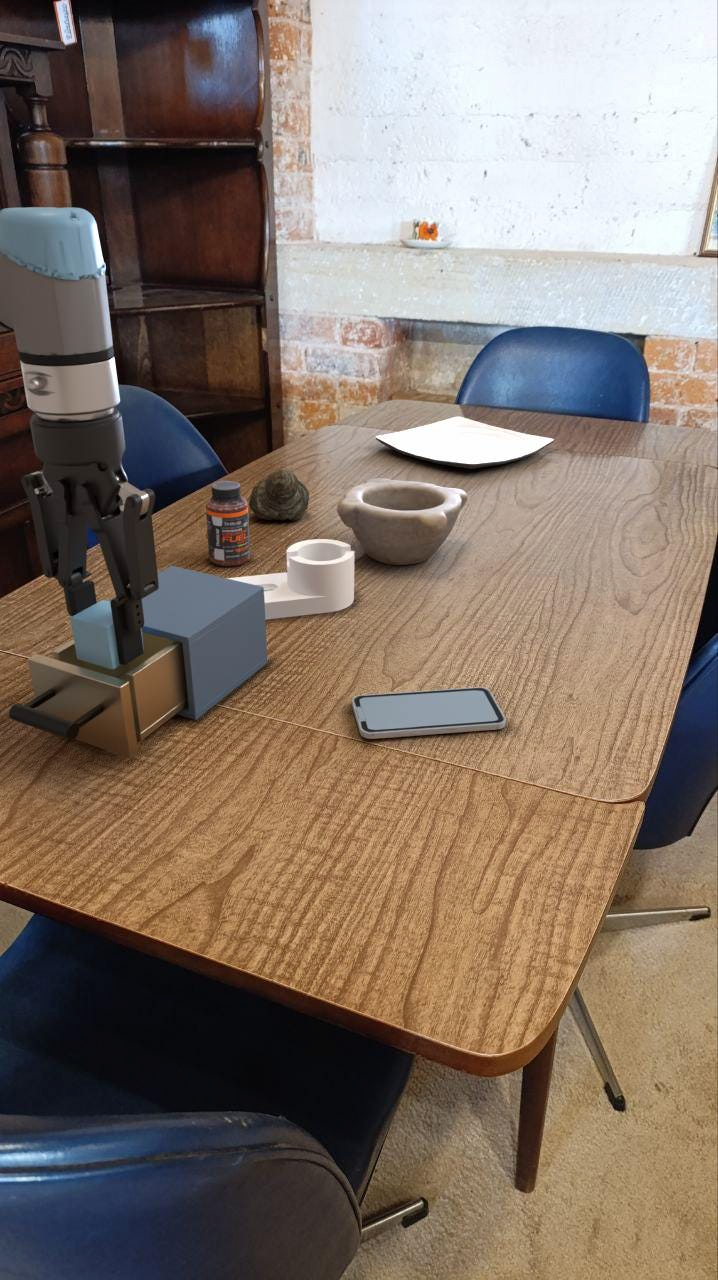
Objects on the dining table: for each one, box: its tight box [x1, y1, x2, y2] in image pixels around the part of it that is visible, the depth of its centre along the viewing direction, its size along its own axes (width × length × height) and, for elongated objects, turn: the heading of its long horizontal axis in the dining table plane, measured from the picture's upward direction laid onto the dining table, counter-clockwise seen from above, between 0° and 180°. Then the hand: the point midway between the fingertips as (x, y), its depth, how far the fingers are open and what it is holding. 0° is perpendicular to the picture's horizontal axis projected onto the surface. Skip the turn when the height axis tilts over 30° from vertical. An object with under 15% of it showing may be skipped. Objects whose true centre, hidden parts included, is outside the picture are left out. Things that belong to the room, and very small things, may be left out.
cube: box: [70, 599, 144, 670], centre depth 84 cm, size 4×4×4 cm
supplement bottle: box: [205, 480, 251, 567], centre depth 125 cm, size 6×6×11 cm
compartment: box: [108, 565, 268, 721], centre depth 95 cm, size 14×13×10 cm
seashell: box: [248, 469, 310, 522], centre depth 142 cm, size 11×12×10 cm
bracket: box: [226, 538, 355, 621], centre depth 113 cm, size 20×9×7 cm, turn 105°
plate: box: [375, 416, 555, 469], centre depth 178 cm, size 29×29×3 cm
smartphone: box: [351, 686, 507, 740], centre depth 90 cm, size 7×1×15 cm
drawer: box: [8, 632, 188, 759], centre depth 86 cm, size 18×11×8 cm, turn 153°
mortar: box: [336, 477, 469, 566], centre depth 128 cm, size 17×17×9 cm
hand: (110, 651), depth 85 cm, fingers closed on cube, 4 cm apart
